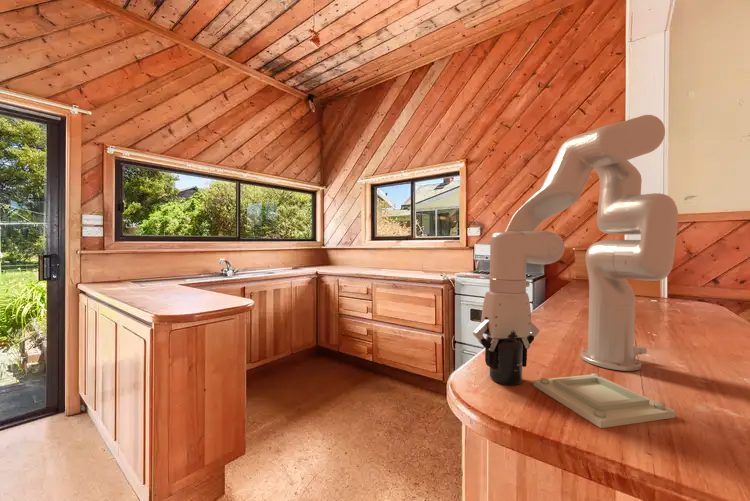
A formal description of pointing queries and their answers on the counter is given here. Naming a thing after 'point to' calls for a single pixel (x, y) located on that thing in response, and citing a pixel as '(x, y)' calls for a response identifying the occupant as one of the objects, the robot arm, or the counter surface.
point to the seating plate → (603, 400)
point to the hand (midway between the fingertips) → (506, 365)
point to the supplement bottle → (508, 361)
